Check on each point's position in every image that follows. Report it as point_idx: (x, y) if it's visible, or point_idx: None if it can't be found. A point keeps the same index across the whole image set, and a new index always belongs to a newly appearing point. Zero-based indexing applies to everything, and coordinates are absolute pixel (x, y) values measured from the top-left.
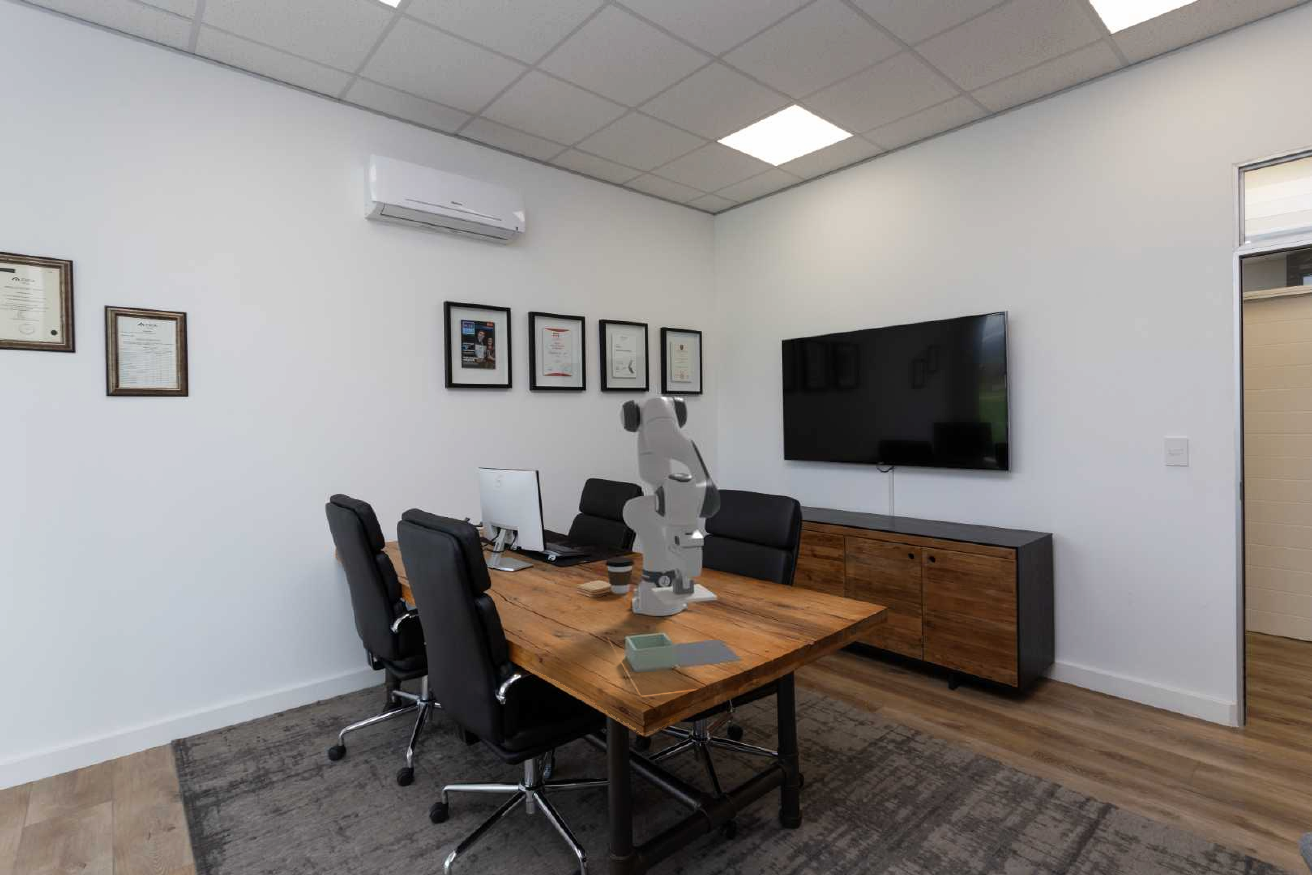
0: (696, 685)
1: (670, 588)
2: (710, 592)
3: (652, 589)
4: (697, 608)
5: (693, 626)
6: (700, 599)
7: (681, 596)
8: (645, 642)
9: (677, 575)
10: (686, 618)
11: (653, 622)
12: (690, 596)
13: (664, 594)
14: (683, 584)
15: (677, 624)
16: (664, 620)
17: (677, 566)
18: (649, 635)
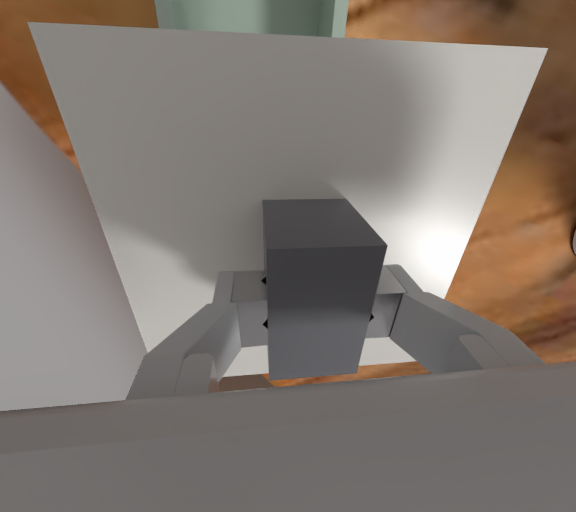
0: (57, 126)
1: (437, 208)
2: (245, 371)
3: (513, 47)
4: (561, 293)
5: (468, 252)
6: (137, 307)
7: (198, 220)
8: (327, 19)
9: (421, 310)
10: (526, 254)
11: (571, 165)
12: (185, 273)
13: (298, 104)
14: (216, 290)
15: (507, 222)
16: (559, 200)
17: (303, 440)
18: (331, 36)
